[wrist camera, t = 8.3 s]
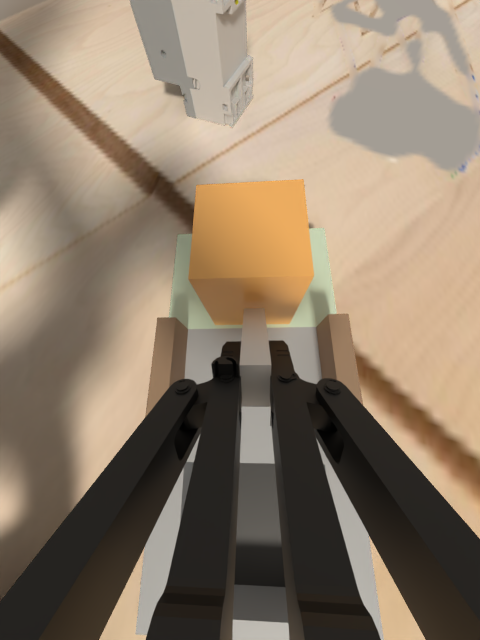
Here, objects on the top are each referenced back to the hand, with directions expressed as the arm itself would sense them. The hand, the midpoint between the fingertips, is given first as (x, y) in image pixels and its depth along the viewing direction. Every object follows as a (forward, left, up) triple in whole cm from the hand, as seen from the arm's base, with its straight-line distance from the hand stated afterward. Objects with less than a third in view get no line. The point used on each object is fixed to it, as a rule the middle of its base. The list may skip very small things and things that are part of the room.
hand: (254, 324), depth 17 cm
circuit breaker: (-39, +14, -7) cm, 42 cm away
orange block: (-4, +2, -4) cm, 6 cm away
